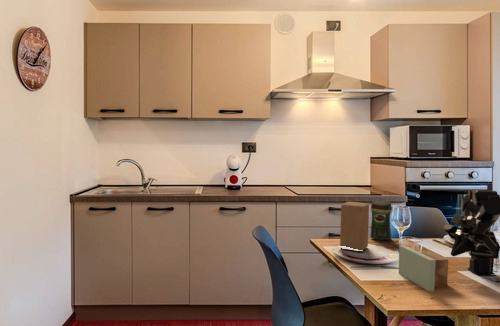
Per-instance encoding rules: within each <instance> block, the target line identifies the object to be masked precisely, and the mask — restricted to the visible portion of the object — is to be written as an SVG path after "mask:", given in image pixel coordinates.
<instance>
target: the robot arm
mask: <svg viewBox="0 0 500 326" xmlns="http://www.w3.org/2000/svg"><path fill="white" fill-rule="evenodd" d="M460 205H461V206H460V209H461V210H460V211H461V212H462V214H463V215H460V214H456V213H455V214H454V215H453V217H452V219H451V222H450V223H452V224H449V223H448V224H447V223H446V224H445V225H444V226H443V227H442V230H443V231H444V232H445V233H446V234H447V236H448V237H449V238H450V239H452V240H454V243H453V245H452V248H451V251H450V256H452V257H456V256H460V255H462V254H465V253H468V255H469V257H470V258H469V267H467V270H468V271H469V272H472V273H474V275H477V276H492V275H491V274H496V273H495V272H494V260H495V259H496V260H498V259H499V258H500V244H499V241H497V237H496V235H495V233H494V231H491V230H490V229H491V227H493V226H494V224H495V223H497V221H498V220H499V218H500V194H499V193H498V191H496V190H483V189H469V190H468V192H467V194H466V195H465V196H463V197H462V199H461V204H460ZM453 224H455V225H453ZM456 225H457V226H458V227H457V226H456ZM458 228H459V229H458Z"/></svg>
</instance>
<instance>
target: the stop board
mask: <svg viewBox="0 0 500 326" xmlns="http://www.w3.org/2000/svg"><path fill="white" fill-rule="evenodd" d="M398 250H399V251H398V253H399V254H398V255H399V256H398V274H399V275H401V276H403V277H404V278H406V279H407V280H409V281H411V282H412V283H414V284H416V285H417V286H419V287H420V288H422V289H424V290H425V291H426V292H435V286H436V285H435V263H436V260H435V259H433V258H430V257H428V256H426V255H424V254H422V253H423V252H419V251H417V250H415V249H413V248H411V247H409V246H407V245H402V244H401V245H399V248H398Z"/></svg>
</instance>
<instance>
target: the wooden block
mask: <svg viewBox="0 0 500 326" xmlns="http://www.w3.org/2000/svg"><path fill="white" fill-rule="evenodd" d="M340 206H341V207H340V233H339V234H340V235H339V237H340V238H339V247H340V246H346V247H350V248H353V249H358V250H364V249H365V248H366V247H367V246H369V223H370V220H369V218H370V204H369V203H367V202H366V203H365V202H359V201H358V202H357V201H346V202H344V203H343V204H341V205H340ZM367 248H368V247H367ZM367 248H366V249H367ZM366 249H365V250H366ZM365 250H364V251H365Z"/></svg>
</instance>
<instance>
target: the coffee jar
mask: <svg viewBox="0 0 500 326" xmlns="http://www.w3.org/2000/svg"><path fill="white" fill-rule="evenodd" d="M370 211H371V223H370V230H369V231H370V232H369V233H370V234H369V237H370V238H371V239H372V240H377V241H390V240H391V238H392V230H391V215H392V214H391V213H392V211H393V209H392V203H391V202H390V201H383V200H372V202H371V204H370Z"/></svg>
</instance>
